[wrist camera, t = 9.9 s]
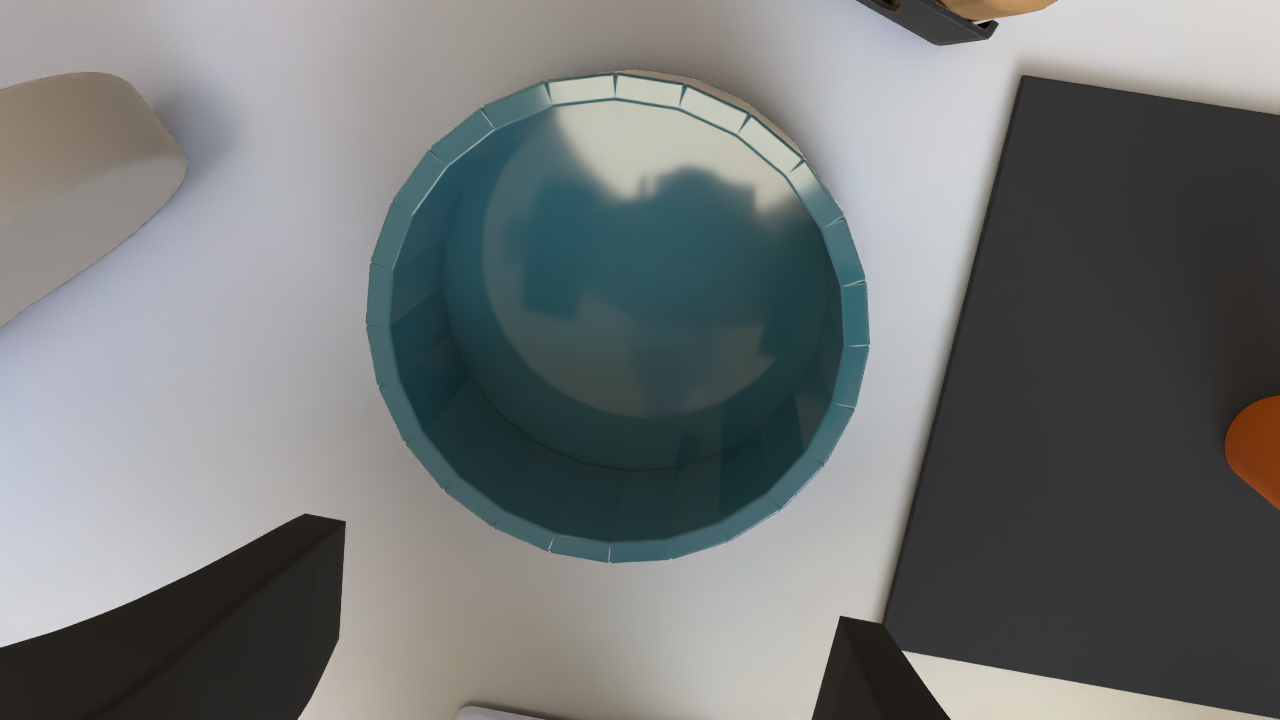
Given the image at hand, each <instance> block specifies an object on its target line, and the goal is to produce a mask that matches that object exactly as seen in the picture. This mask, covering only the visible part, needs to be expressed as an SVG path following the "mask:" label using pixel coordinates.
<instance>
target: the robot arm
mask: <svg viewBox="0 0 1280 720" xmlns="http://www.w3.org/2000/svg"><path fill="white" fill-rule="evenodd" d="M345 527H346V521H341V520H336V519H331V518H326V517H320V516H315V515H310V514H303V515H301V516H299V517H297V518H295V519H293V520H291V521H289V522H287V523H285V524H283V525H281V526H279V527H278V528H276V529H274V530H272V531H270V532H268V533H267V534H265V535H263V536H261V537H259V538H257V539H256V540H254V541H252V542H250V543H248V544H247V545H245V546H243V547H241V548H239V549H237V550H235V551H233V552H232V553H230V554H228V555H226V556H224V557H222V558H220V559H218V560H217V561H215V562H213V563H211V564H209V565H207V566H205V567H203V568H201V569H200V570H198V571H196V572H194V573H191V574H189V575H187V576H185V577H183V578H181V579H179V580H177V581H175V582H172V583H170V584H168V585H166V586H164V587H162V588H160V589H158V590H156V591H153V592H151V593H149V594H147V595H145V596H143V597H141V598H139V599H137V600H134V601H132V602H130V603H127V604H125V605H123V606H120V607H118V608H115V609H113V610H110V611H108V612H106V613H103V614H101V615H98V616H95V617H93V618H90V619H87V620H84V621H82V622H79V623H76V624H74V625H71V626H68V627H66V628H63V629H60V630H57V631H54V632H51V633H48V634H45V635H41V636H38V637H35V638H31V639H28V640H25V641H21V642H18V643H15V644H11V645H8V646H5V647H1V648H0V720H298V718H299V716H300V715H301V713H302V712H303V710H304V709H305V707H306V705H307V704H308V702H309V700H310V699H311V697H312V695H313V693H314V691H315V689H316V687H317V685H318V683H319V681H320V679H321V677H322V674H323V672H324V670H325V668H326V666H327V664H328V662H329V659H330V657H331V655H332V653H333V651H334V648H335V646H336V644H337V642H338V640H339V631H340V614H341V596H342V579H343V562H344V544H345ZM454 720H546V719H540V718H535V717H530V716H524V715H519V714H514V713H508V712H503V711H498V710H492V709H487V708H482V707H476V706H467V707H464V708H462V709H460V710H459V711H458V712H457V714H456V717H455V719H454ZM812 720H951V719H950V718H949V717H948V716H947V714H946V713H945V712H944V710H943V709H942V707H941V706H940V705H939V703H938V702H937V701H936V699H935V698H934V697H933V695H932V694H931V692H930V691H929V690H928V688H927V687H926V686H925V684H924V683H923V681H922V680H921V678H920V677H919V676H918V674H917V673H916V671H915V670H914V668H913V667H912V665H911V664H910V663H909V661H908V660H907V658H906V657H905V655H904V654H903V652H902V651H901V649H900V648H899V646H898V645H897V644H896V642H895V641H894V639H893V638H892V636H891V635H890V633H889V632H888V630H887V629H886V628H885V626H884V625H883V624H880V623H875V622H870V621H864V620H859V619H854V618H849V617H843V616H840V618H839V622H838V625H837V629H836V633H835V636H834V640H833V644H832V647H831V651H830V655H829V658H828V662H827V666H826V669H825V673H824V677H823V680H822V684H821V688H820V691H819V695H818V699H817V702H816V706H815V710H814V713H813V717H812Z"/></svg>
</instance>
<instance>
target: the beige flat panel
mask: <svg viewBox="0 0 1280 720" xmlns="http://www.w3.org/2000/svg"><path fill="white" fill-rule="evenodd" d="M187 169H188V159H187V157H186V154H185V152H184V151H183V149H182V148H181V147H180V145H179V144H178V143H177V141H176V140H175V139H174V137H173V136H172V135H171V133H170V132H169V131H168V130H167V128H166V127H165V126H164V125H163V123H162V122H161V121H160V119H159V118H158V117H157V116H156V114H155V113H154V112H153V110H152V109H151V108H150V107H149V105H148V104H147V103H146V102H145V100H144V99H143V98H142V97H141V95H140V94H139V93H138V92H137V91H136V89H135V88H134V87H133V86H132V85H131V84H130V83H128V82H127V81H125V80H124V79H122V78H120V77H117V76H114V75H110V74H105V73H97V72H80V73H69V74H62V75H55V76H50V77H45V78H40V79H36V80H32V81H29V82H25V83H21V84H18V85H14V86H11V87H8V88H5V89H1V90H0V328H1V327H3V326H4V325H5V324H6V323H8V322H9V321H10V320H11V319H13V318H14V317H15V316H17V315H18V314H19V313H20V312H22V311H23V310H24V309H26V308H27V307H28V306H30V305H31V304H33V303H34V302H36V301H38V300H39V299H41V298H42V297H44V296H45V295H47V294H48V293H50V292H52V291H53V290H55V289H56V288H58V287H59V286H61V285H62V284H64V283H65V282H67V281H68V280H70V279H71V278H73V277H74V276H76V275H77V274H79V273H80V272H82V271H83V270H85V269H86V268H88V267H89V266H91V265H92V264H93V263H95V262H96V261H98V260H99V259H100V258H102V257H103V256H105V255H106V254H107V253H109V252H110V251H111V250H113V249H114V248H115V247H117V246H118V245H119V244H121V243H122V242H123V241H124V240H126V239H127V238H128V237H129V236H131V235H132V234H133V233H134V232H135V231H137V230H138V229H139V228H140V227H141V226H143V225H144V224H145V223H146V222H147V221H148V220H149V219H150V218H152V217H153V216H154V215H155V214H156V213H157V212H158V211H159V210H160V209H161V208H162V207H163V206H164V205H165V204H166V203H167V202H168V201H169V199H170V198H171V197H172V196H173V195H174V193H175V192H176V191H177V190H178V188H179V187H180V185H181V184H182V182H183V180H184V178H185V176H186V172H187Z"/></svg>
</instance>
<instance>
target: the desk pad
mask: <svg viewBox="0 0 1280 720" xmlns="http://www.w3.org/2000/svg"><path fill="white" fill-rule="evenodd" d="M1272 396H1280V115H1275V114H1268V113H1262V112H1255V111H1249V110H1243V109H1236V108H1230V107H1224V106H1217V105H1211V104H1204V103H1198V102H1192V101H1185V100H1179V99H1172V98H1166V97H1160V96H1153V95H1147V94H1140V93H1134V92H1128V91H1121V90H1115V89H1109V88H1102V87H1096V86H1089V85H1083V84H1077V83H1070V82H1064V81H1057V80H1051V79H1045V78H1038V77H1032V76H1024V75H1023V76H1022V77H1021V81H1020V85H1019V88H1018V92H1017V96H1016V100H1015V104H1014V108H1013V112H1012V116H1011V120H1010V124H1009V128H1008V132H1007V136H1006V139H1005V143H1004V147H1003V151H1002V155H1001V159H1000V163H999V167H998V171H997V175H996V179H995V183H994V187H993V191H992V194H991V198H990V202H989V206H988V210H987V214H986V218H985V222H984V226H983V230H982V234H981V238H980V242H979V245H978V249H977V253H976V257H975V261H974V265H973V269H972V273H971V277H970V281H969V285H968V289H967V293H966V296H965V300H964V304H963V308H962V312H961V316H960V320H959V324H958V328H957V332H956V336H955V340H954V344H953V348H952V351H951V355H950V359H949V363H948V367H947V371H946V375H945V379H944V383H943V387H942V391H941V395H940V399H939V402H938V406H937V410H936V414H935V418H934V422H933V426H932V430H931V434H930V438H929V442H928V446H927V450H926V453H925V457H924V461H923V465H922V469H921V473H920V477H919V481H918V485H917V489H916V493H915V497H914V501H913V505H912V508H911V512H910V516H909V520H908V524H907V528H906V532H905V536H904V540H903V544H902V548H901V552H900V556H899V559H898V563H897V567H896V571H895V575H894V579H893V583H892V587H891V591H890V595H889V599H888V603H887V607H886V610H885V614H884V618H883V622H882V624H883V625H884V626H885V628H886V629H887V630H888V632H889V633H890V635H891V636H892V638H893V639H894V641H895V642H896V644H897V645H898V646H899V648H900V649H901V650H902V651H908V652H913V653H919V654H924V655H930V656H935V657H941V658H946V659H952V660H957V661H963V662H968V663H974V664H979V665H985V666H990V667H996V668H1001V669H1007V670H1012V671H1018V672H1023V673H1029V674H1034V675H1040V676H1045V677H1051V678H1056V679H1062V680H1067V681H1073V682H1078V683H1084V684H1089V685H1095V686H1100V687H1106V688H1111V689H1117V690H1122V691H1128V692H1133V693H1139V694H1144V695H1150V696H1155V697H1161V698H1166V699H1172V700H1177V701H1183V702H1188V703H1194V704H1199V705H1205V706H1210V707H1216V708H1221V709H1227V710H1232V711H1238V712H1243V713H1249V714H1254V715H1260V716H1265V717H1271V718H1276V719H1280V510H1279V509H1277V508H1276V507H1275V506H1274V505H1273V504H1271V503H1270V502H1269V501H1268V500H1267V499H1265V498H1264V497H1263V496H1262V495H1261V494H1260V493H1258V492H1257V491H1256V490H1255V489H1254V488H1252V487H1251V486H1250V485H1249V484H1248V483H1246V482H1245V481H1244V480H1243V479H1242V478H1241V477H1239V476H1238V475H1237V474H1236V473H1235V472H1234V471H1233V470H1232V468H1231V467H1230V465H1229V463H1228V461H1227V458H1226V455H1225V438H1226V434H1227V431H1228V429H1229V427H1230V425H1231V423H1232V421H1233V420H1234V419H1235V418H1236V416H1237V415H1238V414H1239V413H1240V412H1241V411H1242V410H1244V409H1245V408H1246V407H1248V406H1249V405H1251V404H1252V403H1254V402H1256V401H1258V400H1261V399H1264V398H1267V397H1272Z"/></svg>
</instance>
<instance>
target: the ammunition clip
mask: <svg viewBox="0 0 1280 720" xmlns="http://www.w3.org/2000/svg"><path fill="white" fill-rule="evenodd" d="M857 1H858V2H860V3H862V4H864V5H865V6H867V7H869V8H871V9H872V10H874V11H876V12H878V13H880V14H881V15H883V16H885V17H887V18H888V19H890V20H892V21H894V22H895V23H897V24H899V25H901V26H903V27H904V28H906V29H908V30H910V31H911V32H913V33H915V34H917V35H918V36H920V37H922V38H924V39H926V40H927V41H929V42H931V43H933V44H935V45H939V46H942V45H951V44H958V43H965V42H972V41H979V40H986V39H989V38H990V37H991V36H992V34H993V33H994V31H995V29H996V28H997V26H998V24H999V23H997V22H996V21H994V20H991V21H987V22H984V23H981V24H977V25H975V24H974V23H972V22H975V21H981V20H987V19H994V18H1000V17H1007V16H1013V15H1019V14H1024V13H1029V12H1033V11H1038V10H1041V9H1044V8H1046V7H1047V6H1049V5H1051V4H1052V3H1054V2H1055V1H1057V0H857Z"/></svg>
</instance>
